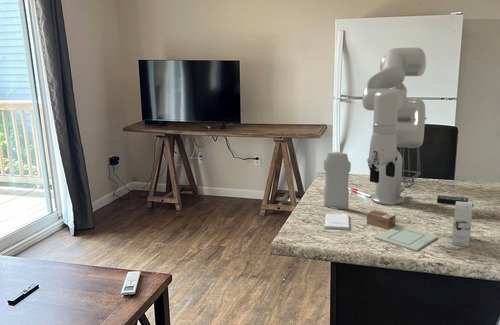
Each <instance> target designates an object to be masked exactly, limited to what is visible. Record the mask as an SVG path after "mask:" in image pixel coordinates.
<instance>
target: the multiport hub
mask: <svg viewBox="0 0 500 325" xmlns="http://www.w3.org/2000/svg"><path fill="white" fill-rule="evenodd" d="M436 197H437V198H436V203H437V204H442V205H452V206H455V205H456V201H459V202H469V198H467V197H460V196H450V195H449V196H448V195H440V194H439V195H437V196H436Z"/></svg>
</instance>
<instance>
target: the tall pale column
mask: <svg viewBox="0 0 500 325" xmlns="http://www.w3.org/2000/svg"><path fill="white" fill-rule="evenodd" d="M351 164H352V163H351V162H350V161H349V157H348V153H343V152H340V151H331V152H326V156H325V159H323V170H324V177H325V178H324V188H323V206H324V207H326V208H330V209H334V210H349V198H350V196H349V195H350V192H349V188H348V187H349V175H350V174H349V173H350V172H351Z"/></svg>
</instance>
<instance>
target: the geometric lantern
mask: <svg viewBox="0 0 500 325" xmlns="http://www.w3.org/2000/svg"><path fill="white" fill-rule="evenodd" d="M427 119H428V118H427V117H425V121H426V120H427ZM401 123H402V122H401ZM396 149H397V150H398V147H396ZM399 152H400V154H401V155H402V177H401V183H404V185H401V187H404V188H408V187H410V186H412V185H415V179H417V178H418V177H420V176H421V175H422V170H421V169H422V168H421V153H420V152H421V151H420V147H418V148H416V154H417V155H416V157H417V158H416V160H417V162H416V165H417V166H416V168H417V170H415V171H413V170H411V162H410V161H411V160H410V148H407V162H408V170H406V169H405V147H399ZM405 172H408V176H405ZM411 173H414V174H415V175H413V176H412V175H411ZM409 183H410V184H409Z"/></svg>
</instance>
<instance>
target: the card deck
mask: <svg viewBox="0 0 500 325" xmlns="http://www.w3.org/2000/svg"><path fill="white" fill-rule="evenodd" d="M396 215H397V214H395V213H391V212H385V211H382V210H381V211H380V210H376V209H373V210H372V211H369V212H368V213H366V224H367V225H369V226H374V227H376V228H381V229H385V230H389V229H391V228H393V227H395V226H396Z"/></svg>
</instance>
